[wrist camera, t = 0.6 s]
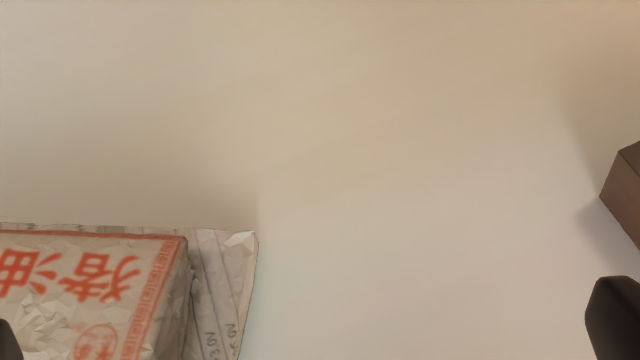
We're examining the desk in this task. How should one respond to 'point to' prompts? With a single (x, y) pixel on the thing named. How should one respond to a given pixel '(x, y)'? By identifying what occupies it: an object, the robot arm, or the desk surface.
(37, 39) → the desk surface
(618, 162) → the organiser
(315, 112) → the desk surface
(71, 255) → the reddish block on slab
